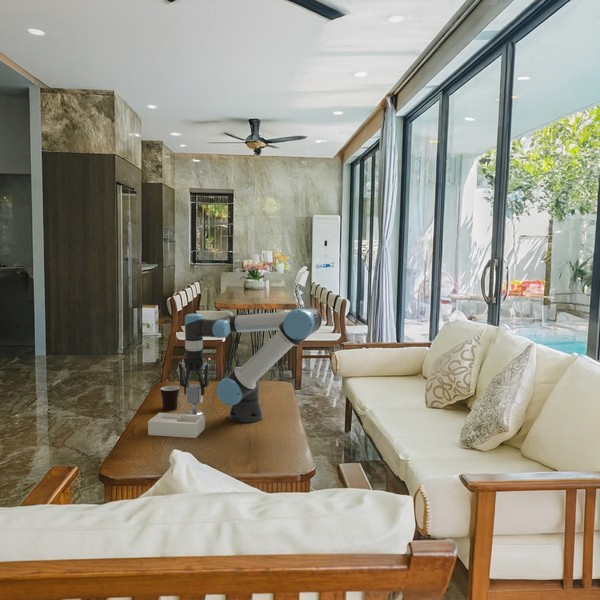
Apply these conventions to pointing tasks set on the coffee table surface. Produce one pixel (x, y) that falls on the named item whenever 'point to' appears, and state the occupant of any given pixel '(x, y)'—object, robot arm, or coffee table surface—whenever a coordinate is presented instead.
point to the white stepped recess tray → (176, 425)
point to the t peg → (193, 398)
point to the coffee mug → (170, 397)
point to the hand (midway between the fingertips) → (194, 402)
